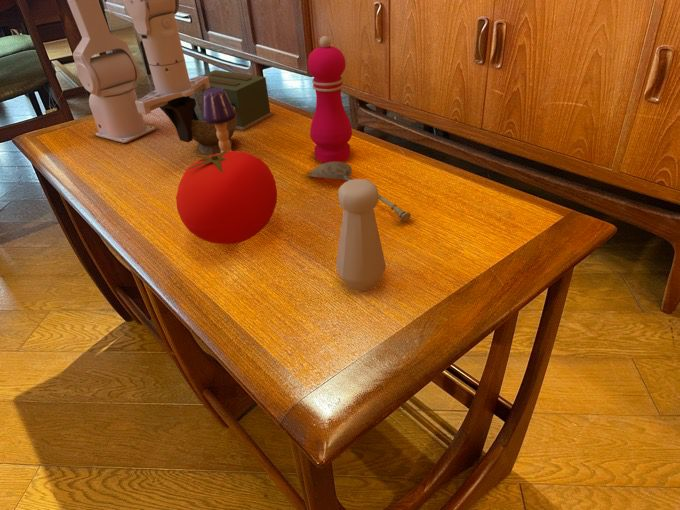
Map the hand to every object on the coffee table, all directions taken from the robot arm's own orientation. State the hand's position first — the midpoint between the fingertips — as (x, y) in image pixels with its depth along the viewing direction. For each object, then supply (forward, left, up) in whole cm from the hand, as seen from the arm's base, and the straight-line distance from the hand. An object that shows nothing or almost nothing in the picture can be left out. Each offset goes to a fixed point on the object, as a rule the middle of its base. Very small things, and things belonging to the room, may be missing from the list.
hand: (186, 140), depth 89 cm
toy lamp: (+17, -7, -4) cm, 18 cm away
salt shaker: (+45, -16, -4) cm, 48 cm away
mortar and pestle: (0, +6, -4) cm, 7 cm away
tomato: (+24, -15, -4) cm, 28 cm away
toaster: (-7, +19, -4) cm, 21 cm away
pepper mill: (+23, +12, -4) cm, 26 cm away
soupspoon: (+34, +2, -4) cm, 34 cm away
